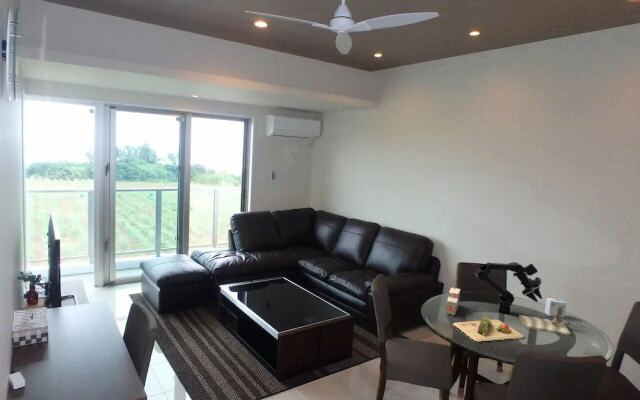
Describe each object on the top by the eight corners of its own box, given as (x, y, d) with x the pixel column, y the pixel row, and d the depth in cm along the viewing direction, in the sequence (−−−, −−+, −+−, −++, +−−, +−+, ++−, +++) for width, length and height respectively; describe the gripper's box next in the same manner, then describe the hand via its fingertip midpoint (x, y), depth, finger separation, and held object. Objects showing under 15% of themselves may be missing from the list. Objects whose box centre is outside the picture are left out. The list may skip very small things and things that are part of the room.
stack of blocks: (455, 316, 256) (457, 298, 255) (445, 313, 259) (447, 296, 258) (458, 305, 276) (460, 288, 274) (449, 303, 278) (451, 286, 277)
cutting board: (497, 321, 253) (498, 310, 252) (525, 339, 231) (526, 327, 230) (451, 325, 243) (452, 314, 242) (475, 344, 221) (477, 331, 220)
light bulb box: (559, 313, 272) (562, 298, 270) (564, 317, 265) (567, 302, 264) (544, 312, 273) (546, 297, 271) (548, 316, 266) (550, 301, 265)
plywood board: (523, 327, 245) (524, 325, 245) (518, 316, 262) (519, 314, 261) (570, 335, 238) (570, 333, 238) (562, 324, 254) (562, 322, 254)
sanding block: (551, 324, 249) (554, 307, 248) (554, 321, 254) (556, 304, 253) (562, 327, 245) (564, 310, 244) (564, 324, 250) (567, 307, 249)
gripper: (529, 276, 252) (545, 298, 246) (538, 271, 265) (554, 291, 259) (515, 284, 259) (530, 305, 253) (525, 279, 272) (539, 299, 266)
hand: (539, 300), depth 258 cm, fingers open, 9 cm apart
